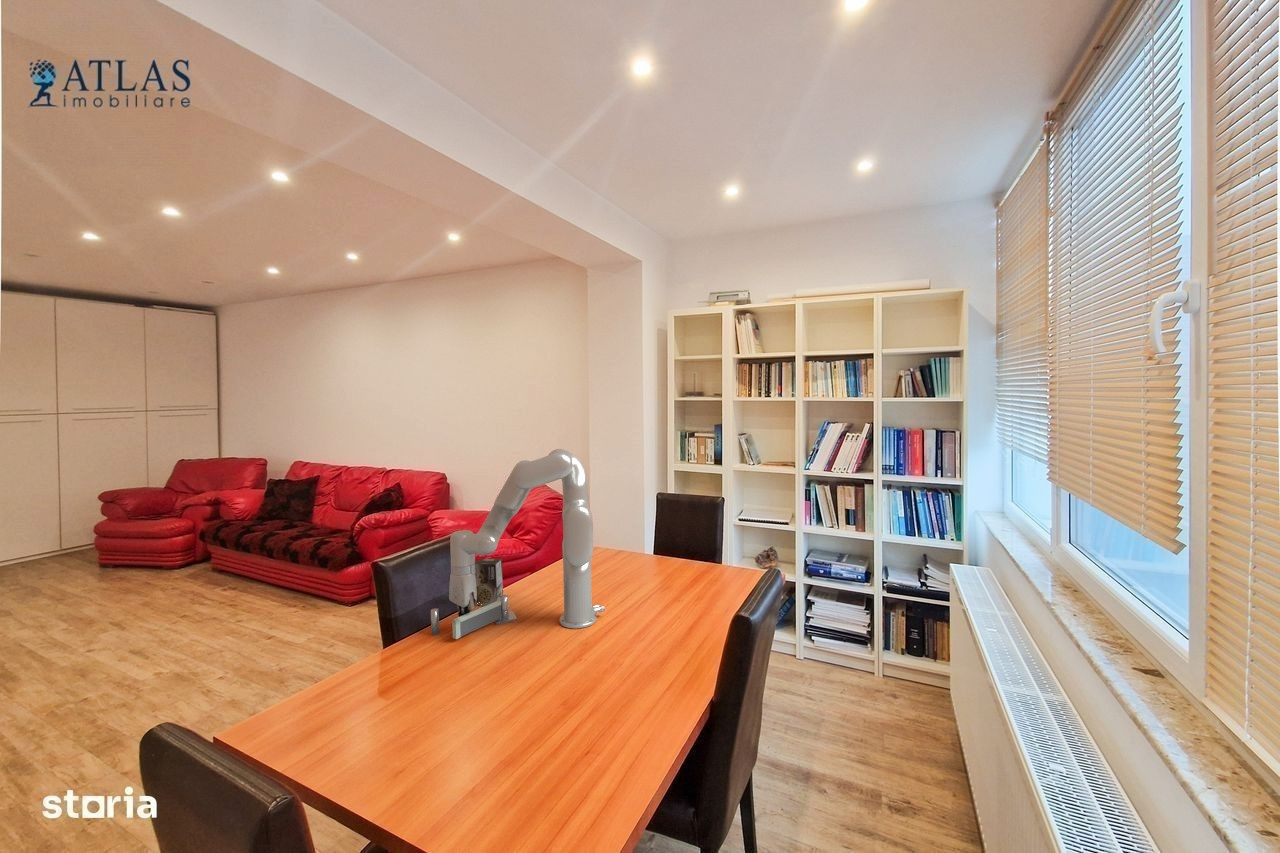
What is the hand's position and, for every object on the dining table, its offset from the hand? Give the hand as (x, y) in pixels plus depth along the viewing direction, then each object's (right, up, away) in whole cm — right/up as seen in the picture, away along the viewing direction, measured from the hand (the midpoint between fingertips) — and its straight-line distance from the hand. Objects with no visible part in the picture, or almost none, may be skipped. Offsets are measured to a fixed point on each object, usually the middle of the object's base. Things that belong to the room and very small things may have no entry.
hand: (464, 623), depth 165 cm
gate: (+5, -2, 0) cm, 5 cm away
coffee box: (+1, -2, +23) cm, 23 cm away
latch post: (-9, -3, -1) cm, 10 cm away
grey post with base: (+11, -2, +9) cm, 14 cm away
